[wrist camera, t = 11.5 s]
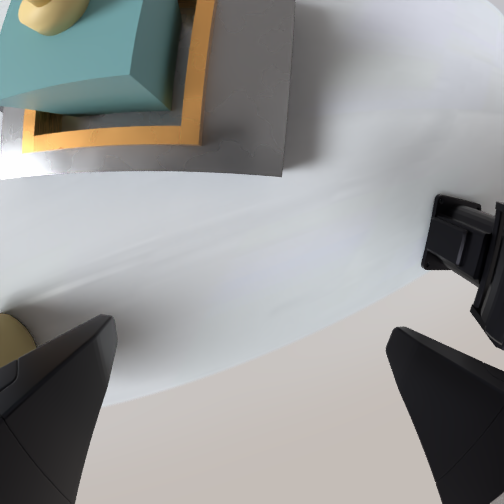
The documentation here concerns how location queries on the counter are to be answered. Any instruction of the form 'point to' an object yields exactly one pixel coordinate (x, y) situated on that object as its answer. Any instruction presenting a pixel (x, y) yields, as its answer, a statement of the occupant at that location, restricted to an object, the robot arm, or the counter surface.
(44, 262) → the counter surface
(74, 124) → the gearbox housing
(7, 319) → the squeeze bottle
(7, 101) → the oil can
